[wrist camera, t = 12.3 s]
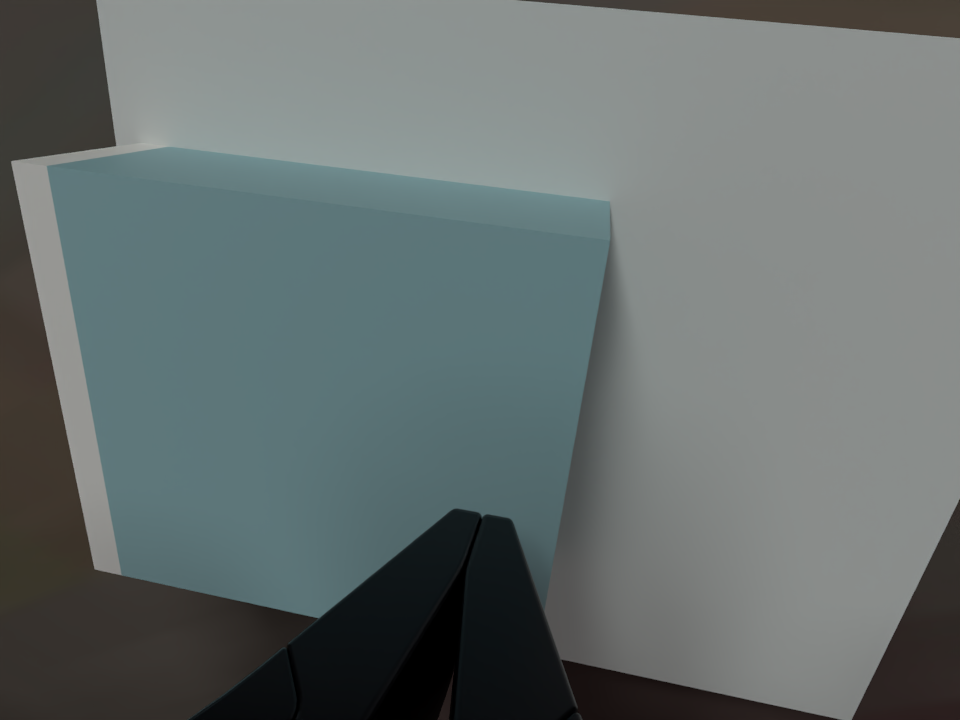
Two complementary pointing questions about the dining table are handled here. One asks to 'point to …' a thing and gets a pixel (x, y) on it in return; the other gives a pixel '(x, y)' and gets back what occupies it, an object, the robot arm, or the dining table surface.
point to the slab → (306, 361)
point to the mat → (663, 287)
